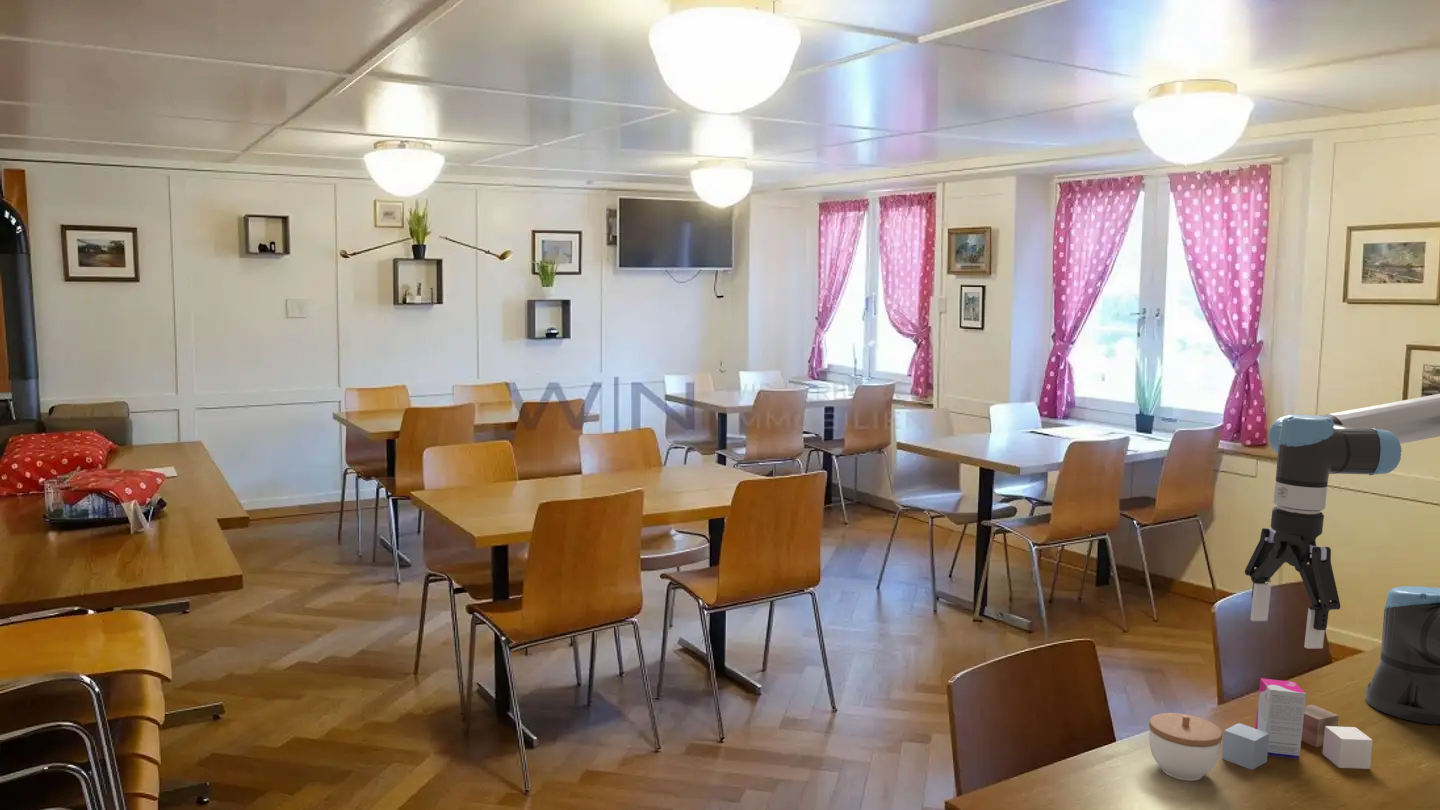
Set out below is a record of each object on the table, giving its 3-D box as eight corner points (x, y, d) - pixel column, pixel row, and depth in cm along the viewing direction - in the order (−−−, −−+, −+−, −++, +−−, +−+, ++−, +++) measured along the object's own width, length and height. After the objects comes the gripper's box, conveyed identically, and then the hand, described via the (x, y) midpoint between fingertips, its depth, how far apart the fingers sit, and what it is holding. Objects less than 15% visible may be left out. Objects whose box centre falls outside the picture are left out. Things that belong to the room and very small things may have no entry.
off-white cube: (1352, 755, 178) (1355, 727, 177) (1369, 769, 173) (1372, 740, 172) (1322, 754, 178) (1325, 726, 177) (1338, 768, 173) (1341, 738, 172)
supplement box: (1301, 759, 175) (1307, 693, 174) (1262, 755, 177) (1268, 689, 175) (1289, 744, 181) (1295, 680, 180) (1252, 740, 182) (1258, 677, 181)
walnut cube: (1310, 731, 187) (1312, 704, 186) (1336, 743, 182) (1338, 715, 182) (1290, 735, 185) (1292, 708, 184) (1315, 747, 180) (1318, 719, 180)
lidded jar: (1221, 767, 172) (1226, 712, 171) (1214, 794, 163) (1219, 736, 162) (1151, 751, 177) (1155, 697, 176) (1140, 776, 168) (1145, 720, 167)
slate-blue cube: (1236, 751, 178) (1238, 722, 178) (1266, 762, 174) (1269, 733, 174) (1221, 759, 175) (1224, 730, 175) (1252, 770, 171) (1254, 741, 171)
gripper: (1230, 493, 186) (1219, 610, 188) (1331, 526, 161) (1316, 660, 164) (1269, 493, 187) (1257, 609, 189) (1375, 526, 162) (1360, 660, 165)
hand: (1285, 633), depth 176 cm, fingers open, 13 cm apart
